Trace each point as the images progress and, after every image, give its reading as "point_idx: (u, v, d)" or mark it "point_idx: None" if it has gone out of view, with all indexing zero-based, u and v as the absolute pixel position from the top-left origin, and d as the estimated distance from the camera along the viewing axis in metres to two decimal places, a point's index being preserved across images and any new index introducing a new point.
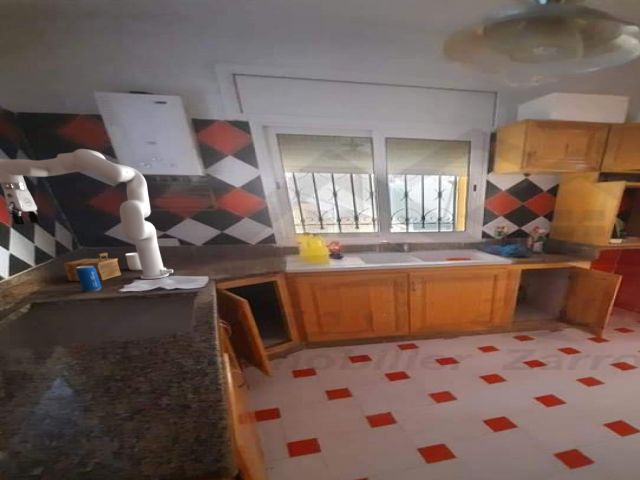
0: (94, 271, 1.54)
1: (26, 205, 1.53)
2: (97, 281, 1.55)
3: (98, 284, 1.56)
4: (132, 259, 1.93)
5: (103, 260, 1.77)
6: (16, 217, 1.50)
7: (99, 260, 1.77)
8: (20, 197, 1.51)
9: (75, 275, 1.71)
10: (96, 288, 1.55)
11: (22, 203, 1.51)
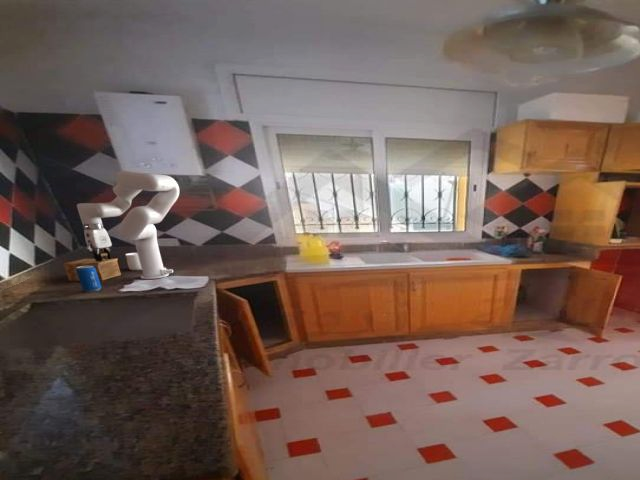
0: (94, 271, 1.54)
1: (101, 243, 1.72)
2: (97, 281, 1.55)
3: (98, 284, 1.56)
4: (132, 259, 1.93)
5: (103, 260, 1.77)
6: (96, 255, 1.71)
7: None
8: (96, 236, 1.69)
9: (75, 275, 1.71)
10: (96, 288, 1.55)
11: (97, 241, 1.70)
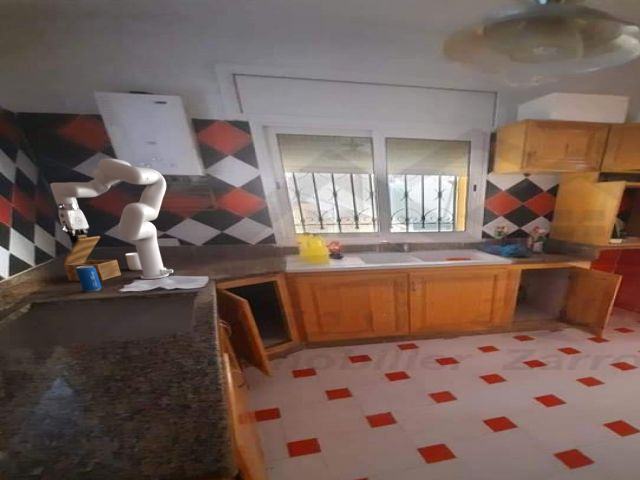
0: (94, 271, 1.54)
1: (76, 224, 1.68)
2: (97, 281, 1.55)
3: (98, 284, 1.56)
4: (132, 259, 1.93)
5: None
6: (71, 236, 1.67)
7: None
8: (71, 217, 1.65)
9: (75, 275, 1.71)
10: (96, 288, 1.55)
11: (72, 222, 1.65)
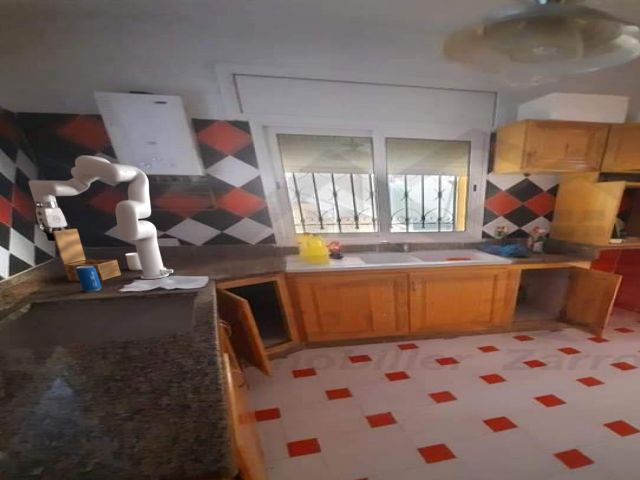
0: (94, 271, 1.54)
1: (54, 222, 1.66)
2: (97, 281, 1.55)
3: (98, 284, 1.56)
4: (132, 259, 1.93)
5: None
6: (48, 234, 1.66)
7: None
8: (48, 215, 1.64)
9: (75, 275, 1.71)
10: (96, 288, 1.55)
11: (50, 220, 1.64)
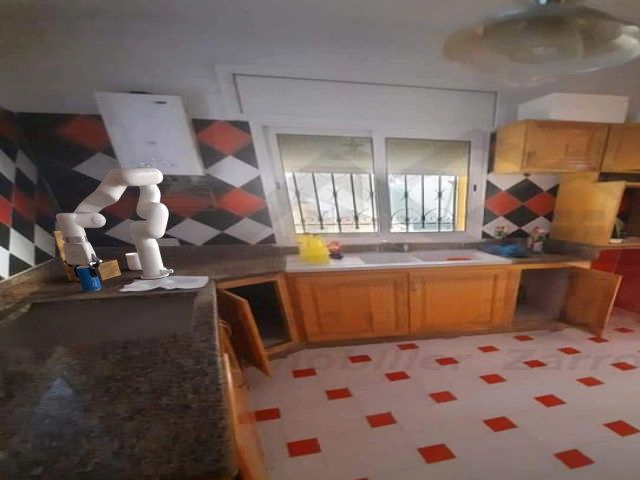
0: None
1: (72, 258, 1.48)
2: (97, 281, 1.55)
3: (98, 284, 1.56)
4: (132, 259, 1.93)
5: None
6: None
7: None
8: (66, 251, 1.47)
9: (75, 275, 1.71)
10: (96, 288, 1.55)
11: (67, 256, 1.48)
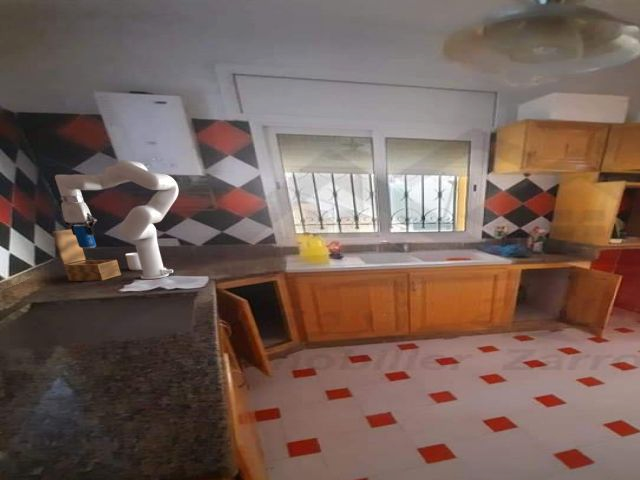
0: None
1: (69, 217, 1.63)
2: (92, 239, 1.70)
3: (93, 242, 1.71)
4: (132, 259, 1.93)
5: None
6: None
7: None
8: (64, 209, 1.62)
9: (75, 275, 1.71)
10: (91, 245, 1.70)
11: (65, 215, 1.63)
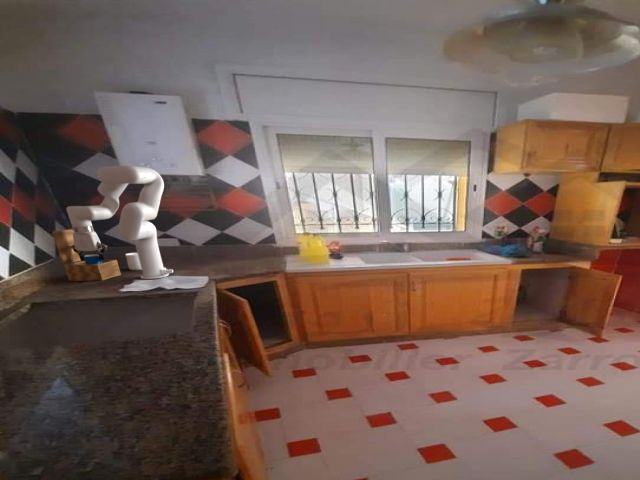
0: None
1: (80, 246, 1.70)
2: None
3: None
4: (132, 259, 1.93)
5: None
6: None
7: None
8: (75, 239, 1.69)
9: (75, 275, 1.71)
10: None
11: (76, 244, 1.70)
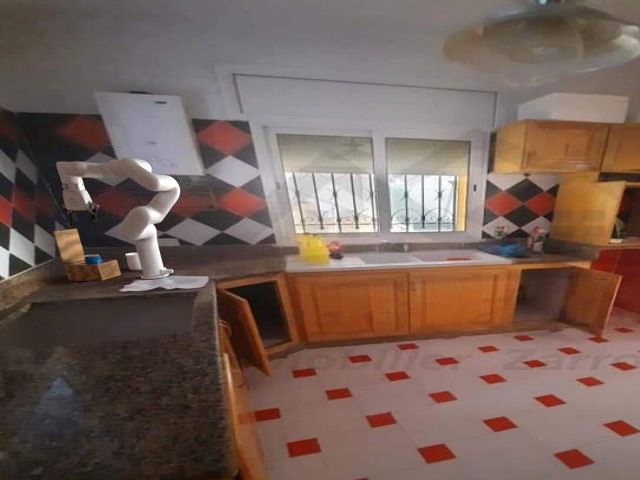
0: (100, 259, 1.76)
1: (71, 204, 1.63)
2: None
3: None
4: (132, 259, 1.93)
5: None
6: None
7: None
8: (65, 197, 1.62)
9: (75, 275, 1.71)
10: None
11: (66, 202, 1.62)
